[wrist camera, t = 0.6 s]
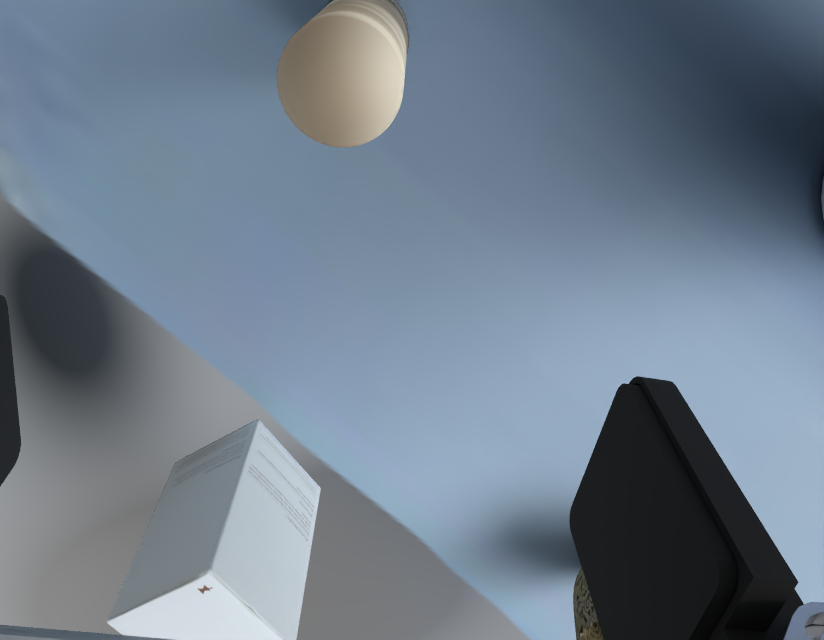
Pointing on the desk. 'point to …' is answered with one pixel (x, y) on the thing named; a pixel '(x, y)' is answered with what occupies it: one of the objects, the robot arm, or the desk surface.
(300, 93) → the ash peg
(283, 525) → the supplement box
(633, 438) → the robot arm
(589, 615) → the cup
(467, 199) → the desk surface
